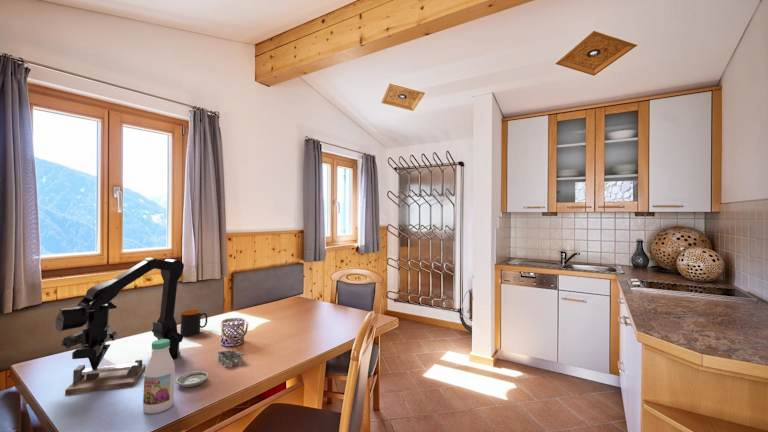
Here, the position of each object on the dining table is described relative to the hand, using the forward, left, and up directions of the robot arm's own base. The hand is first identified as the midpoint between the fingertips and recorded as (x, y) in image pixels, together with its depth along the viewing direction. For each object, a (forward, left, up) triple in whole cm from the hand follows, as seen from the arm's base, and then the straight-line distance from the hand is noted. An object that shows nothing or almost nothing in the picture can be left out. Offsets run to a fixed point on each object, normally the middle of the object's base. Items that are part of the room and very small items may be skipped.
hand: (94, 369), depth 115 cm
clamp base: (-4, 0, -4) cm, 6 cm away
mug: (-24, -44, -5) cm, 50 cm away
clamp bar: (-5, 0, -1) cm, 5 cm away
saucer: (-31, +11, -5) cm, 33 cm away
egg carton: (-42, -4, -5) cm, 42 cm away
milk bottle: (-24, +24, -5) cm, 34 cm away
